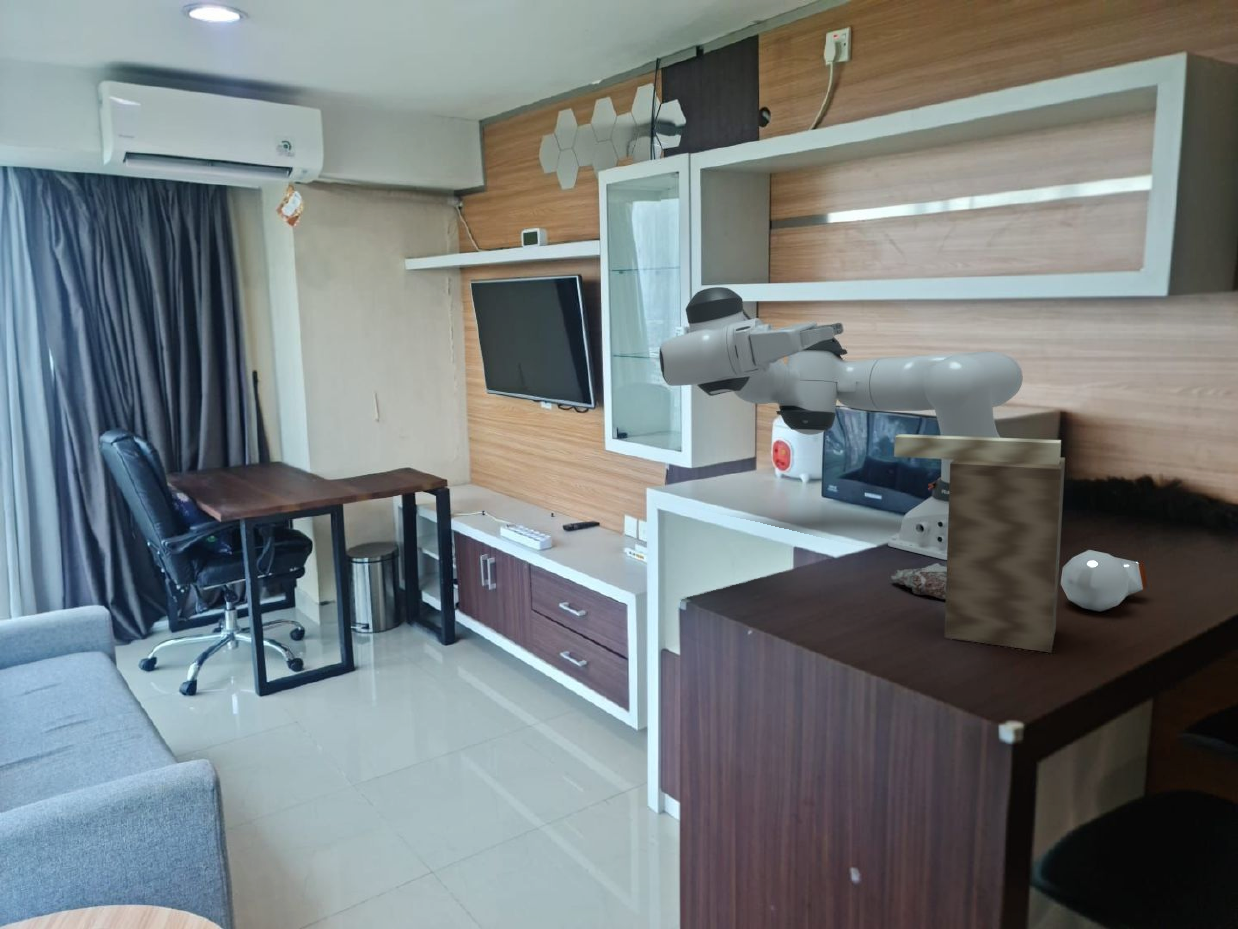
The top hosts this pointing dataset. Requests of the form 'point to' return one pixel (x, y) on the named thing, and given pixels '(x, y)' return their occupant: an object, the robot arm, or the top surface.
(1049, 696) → the top surface
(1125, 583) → the potion bottle
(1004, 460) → the birch bar
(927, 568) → the mineral rock
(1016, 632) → the walnut block
